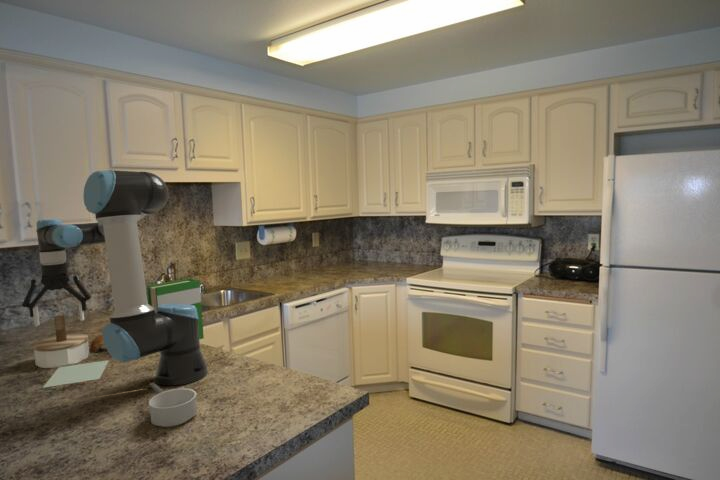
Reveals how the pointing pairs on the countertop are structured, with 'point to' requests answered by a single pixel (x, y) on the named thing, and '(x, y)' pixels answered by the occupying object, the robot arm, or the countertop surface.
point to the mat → (77, 373)
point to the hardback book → (177, 296)
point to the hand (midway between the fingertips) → (60, 322)
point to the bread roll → (98, 344)
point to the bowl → (61, 356)
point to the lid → (60, 338)
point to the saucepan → (172, 406)
